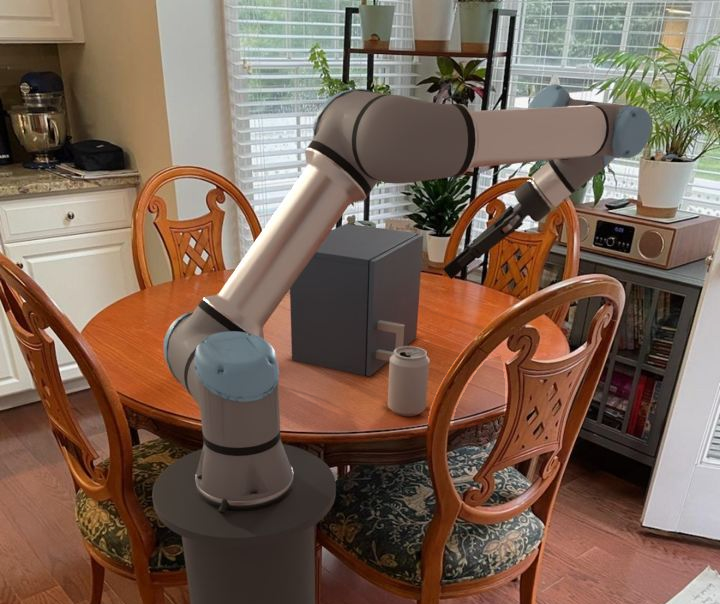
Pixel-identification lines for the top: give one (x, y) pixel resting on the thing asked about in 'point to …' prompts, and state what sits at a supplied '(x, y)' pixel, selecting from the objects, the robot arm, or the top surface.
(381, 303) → the cupboard door
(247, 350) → the robot arm
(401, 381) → the can
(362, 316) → the cupboard
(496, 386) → the top surface
